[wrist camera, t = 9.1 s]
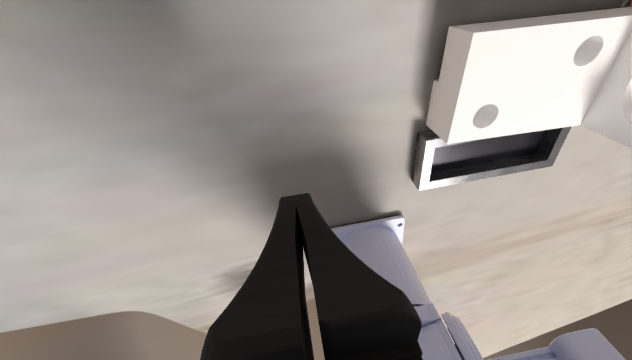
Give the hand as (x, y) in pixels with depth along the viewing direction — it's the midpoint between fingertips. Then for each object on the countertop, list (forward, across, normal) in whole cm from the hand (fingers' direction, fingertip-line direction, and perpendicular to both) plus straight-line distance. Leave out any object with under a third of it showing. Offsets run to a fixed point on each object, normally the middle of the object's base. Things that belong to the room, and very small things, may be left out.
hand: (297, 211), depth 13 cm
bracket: (+10, -18, -2) cm, 20 cm away
